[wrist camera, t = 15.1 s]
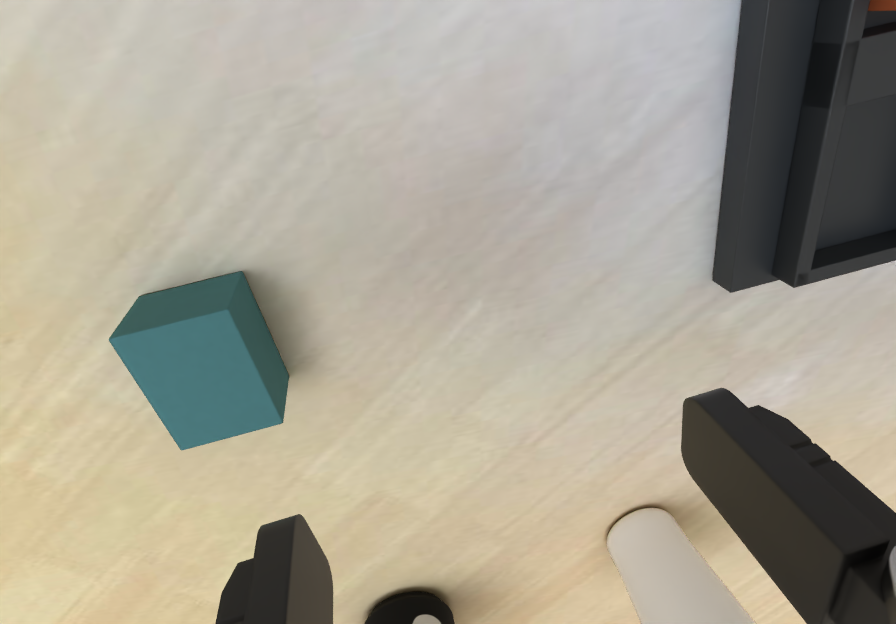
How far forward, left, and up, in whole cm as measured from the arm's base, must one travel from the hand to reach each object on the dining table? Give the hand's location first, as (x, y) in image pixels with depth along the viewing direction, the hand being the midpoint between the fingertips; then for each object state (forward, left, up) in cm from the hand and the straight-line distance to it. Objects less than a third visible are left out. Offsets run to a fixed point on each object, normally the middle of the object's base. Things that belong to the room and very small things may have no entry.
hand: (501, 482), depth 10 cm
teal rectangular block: (+3, -10, -15) cm, 18 cm away
